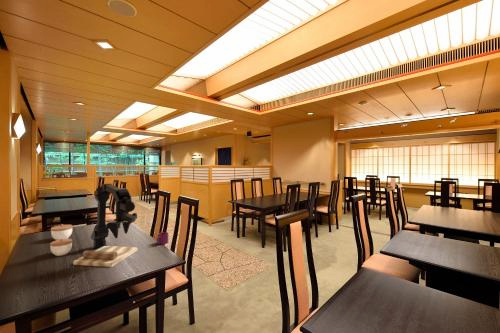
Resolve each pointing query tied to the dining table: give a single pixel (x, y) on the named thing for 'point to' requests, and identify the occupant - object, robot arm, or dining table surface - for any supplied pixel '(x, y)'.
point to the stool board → (121, 254)
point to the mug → (162, 238)
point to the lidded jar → (61, 246)
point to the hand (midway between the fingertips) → (121, 235)
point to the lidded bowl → (61, 231)
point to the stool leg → (99, 255)
